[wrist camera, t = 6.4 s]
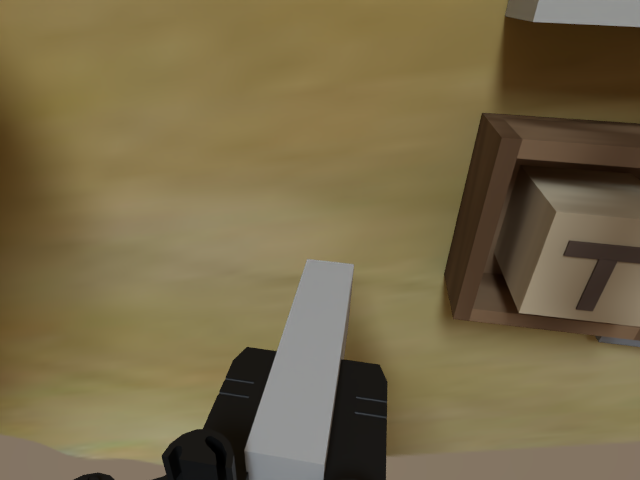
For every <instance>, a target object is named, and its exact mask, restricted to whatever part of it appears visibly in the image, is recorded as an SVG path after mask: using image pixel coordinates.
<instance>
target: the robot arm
mask: <svg viewBox="0 0 640 480" xmlns="http://www.w3.org/2000/svg"><path fill="white" fill-rule="evenodd" d="M353 270H354V264H346V263H338V262H329V261H320V260H312V259H307V261H306V264H305V268H304V271H303V274H302V277H301V280H300V283H299V286H298V289H297V292H296V295H295V298H294V301H293V304H292V307H291V310H290V313H289V316H288V319H287V322H286V325H285V328H284V331H283V334H282V337H281V341H280V344H279V347H278V350H277V351H271V350H264V349H257V348H250V347H247V348H246V349H244V350H243V351H242V352H241V353H240V354H239V355H238V356H237V357H236V358H235V359H234V360H233V362H232V364H231V366H230V369H229V371H228V373H227V375H226V379H225V381H224V382H223V385H222V387H221V389H220V393H219V395H218V396H217V398H216V400H215V403H214V405H213V407H212V409H211V412H210V414H209V416H208V419H207V421H206V423H205V425H204V428H203V429H197V430H194V431H191V432H188V433H185V434H183V435H181V436H180V437H179V438H177V439H176V440H175V441H173V442H172V443H171V444H170V445H169V446H168V448H167V449H166V450H165V452H164V453H163V455H162V460H163V463H164V467H165V471H166V475H165V476H163V477H160V478H157V479H153V480H386V431H387V420H386V418H387V380H386V378H385V376H384V374H383V371H382V369H381V367H380V365H378V364H371V363H364V362H357V361H350V360H344V354H345V346H346V339H347V332H348V322H349V312H350V301H351V291H352V280H353ZM74 480H114V479H113V478H112V477H111V476H110V475H106V474H102V473H93V474H87V475H83V476H80V477H78V478H76V479H74Z"/></svg>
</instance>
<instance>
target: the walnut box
mask: <svg viewBox="0 0 640 480" xmlns="http://www.w3.org/2000/svg"><path fill="white" fill-rule="evenodd" d="M520 165H530V166H542V167H555V168H567V169H580V170H592V171H605V172H617V173H630V174H632V175H634V176H635V177H636V178H638V179H639V180H640V124H637V123H622V122H608V121H593V120H579V119H564V118H549V117H535V116H520V115H506V114H491V113H482V116H481V120H480V125H479V129H478V133H477V137H476V142H475V146H474V150H473V154H472V159H471V163H470V167H469V171H468V176H467V180H466V184H465V188H464V193H463V197H462V201H461V205H460V210H459V214H458V218H457V222H456V227H455V231H454V235H453V239H452V244H451V248H450V252H449V256H448V261H447V265H446V269H445V273H444V275H445V280H446V285H447V290H448V295H449V300H450V305H451V310H452V315H453V319H459V320H467V321H476V322H485V323H493V324H502V325H510V326H519V327H527V328H536V329H544V330H553V331H561V332H570V333H578V334H587V335H595V336H604V337H612V338H621V339H629V340H638V341H640V327H638V326H629V325H620V324H611V323H603V322H594V321H585V320H576V319H568V318H559V317H550V316H541V315H533V314H524V313H519V312H518V310H517V307H516V305H515V302H514V300H513V298H512V295H511V293H510V290H509V288H508V285H507V283H506V281H505V278H504V276H503V273H502V271H501V268H500V266H499V263H498V261H497V259H496V256H495V254H494V250H495V247H496V243H497V240H498V237H499V233H500V230H501V227H502V223H503V220H504V217H505V214H506V210H507V207H508V204H509V200H510V197H511V194H512V190H513V187H514V184H515V180H516V177H517V174H518V170H519V167H520Z"/></svg>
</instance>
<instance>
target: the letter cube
mask: <svg viewBox="0 0 640 480" xmlns="http://www.w3.org/2000/svg"><path fill="white" fill-rule="evenodd" d="M494 254H495V256H496V259H497V261H498V263H499V266H500V268H501V271H502V273H503V276H504V278H505V281H506V283H507V285H508V288H509V290H510V293H511V295H512V298H513V300H514V302H515V305H516V307H517V310H518V312H519V313H524V314H533V315H541V316H550V317H559V318H568V319H576V320H585V321H594V322H603V323H611V324H620V325H629V326H638V327H640V180H639V179H638V178H636V177H635V176H634V175H632V174H630V173H617V172H605V171H592V170H580V169H567V168H555V167H542V166H530V165H520V167H519V170H518V174H517V177H516V180H515V184H514V187H513V190H512V194H511V197H510V200H509V204H508V207H507V210H506V214H505V217H504V220H503V223H502V227H501V230H500V233H499V237H498V240H497V243H496V247H495V250H494Z"/></svg>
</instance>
